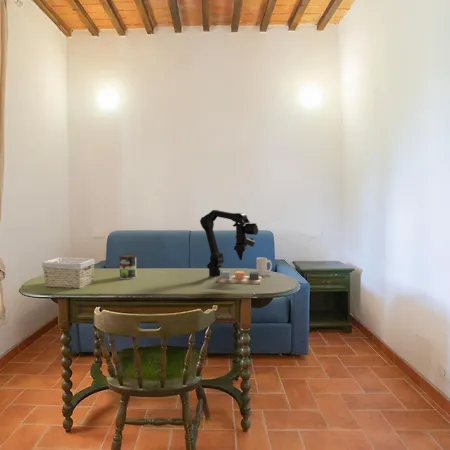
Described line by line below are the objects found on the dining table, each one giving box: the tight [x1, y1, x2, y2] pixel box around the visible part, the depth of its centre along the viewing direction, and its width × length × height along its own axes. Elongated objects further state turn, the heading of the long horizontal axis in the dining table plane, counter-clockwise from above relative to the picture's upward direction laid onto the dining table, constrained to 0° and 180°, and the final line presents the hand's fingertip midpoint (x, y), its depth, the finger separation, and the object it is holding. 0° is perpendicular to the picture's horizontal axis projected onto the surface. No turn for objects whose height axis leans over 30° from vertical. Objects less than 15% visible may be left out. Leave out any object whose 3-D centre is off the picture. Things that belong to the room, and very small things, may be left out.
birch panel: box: [216, 274, 263, 285], centre depth 192 cm, size 25×12×3 cm, turn 80°
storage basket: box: [41, 256, 96, 289], centre depth 187 cm, size 24×16×15 cm
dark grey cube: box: [249, 271, 259, 280], centre depth 190 cm, size 5×5×5 cm
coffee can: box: [119, 253, 137, 280], centre depth 205 cm, size 10×10×14 cm
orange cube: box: [234, 270, 245, 279], centre depth 192 cm, size 5×5×5 cm
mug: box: [255, 256, 273, 277], centre depth 207 cm, size 10×7×12 cm, turn 91°
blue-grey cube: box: [221, 270, 231, 279], centre depth 193 cm, size 5×5×5 cm
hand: (240, 260), depth 194 cm, fingers closed
